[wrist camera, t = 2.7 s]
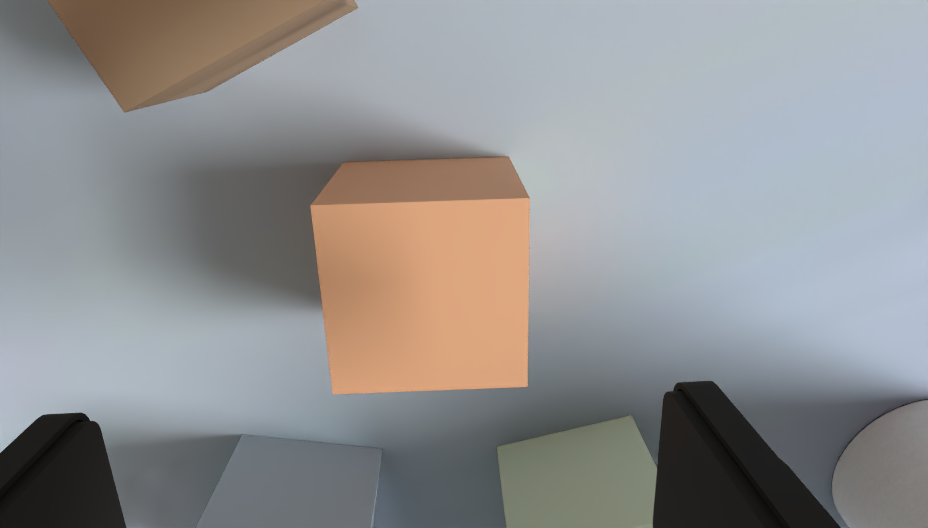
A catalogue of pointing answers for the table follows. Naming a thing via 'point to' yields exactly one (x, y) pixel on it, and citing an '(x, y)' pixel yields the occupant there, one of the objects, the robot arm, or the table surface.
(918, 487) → the coffee cup
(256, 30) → the walnut block
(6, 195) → the table surface
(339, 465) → the slate block
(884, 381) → the table surface
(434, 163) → the terracotta block
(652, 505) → the sage block
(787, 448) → the table surface
